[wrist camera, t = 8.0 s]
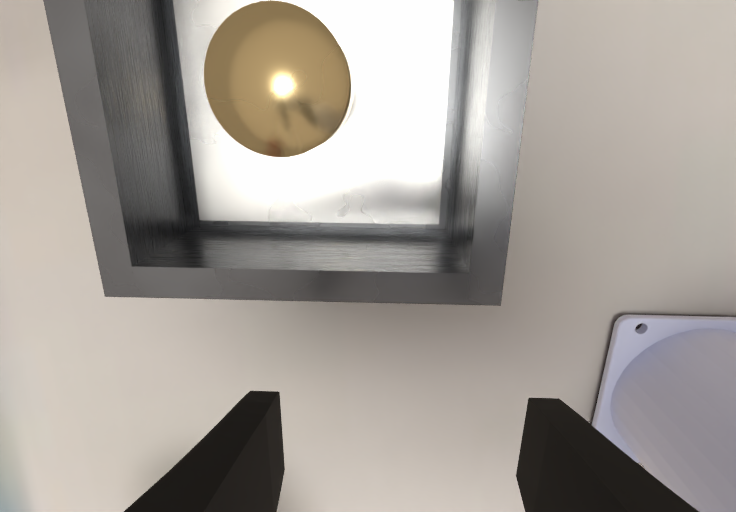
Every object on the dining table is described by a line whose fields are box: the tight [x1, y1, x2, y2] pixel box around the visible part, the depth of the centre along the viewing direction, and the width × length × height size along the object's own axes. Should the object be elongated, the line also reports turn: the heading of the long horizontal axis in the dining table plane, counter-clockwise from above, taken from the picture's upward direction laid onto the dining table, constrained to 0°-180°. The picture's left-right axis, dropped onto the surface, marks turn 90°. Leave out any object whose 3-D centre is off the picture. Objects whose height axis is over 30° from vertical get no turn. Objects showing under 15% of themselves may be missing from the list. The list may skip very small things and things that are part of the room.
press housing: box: [43, 0, 538, 306], centre depth 14 cm, size 12×12×6 cm
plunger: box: [173, 0, 454, 225], centre depth 12 cm, size 9×9×6 cm
